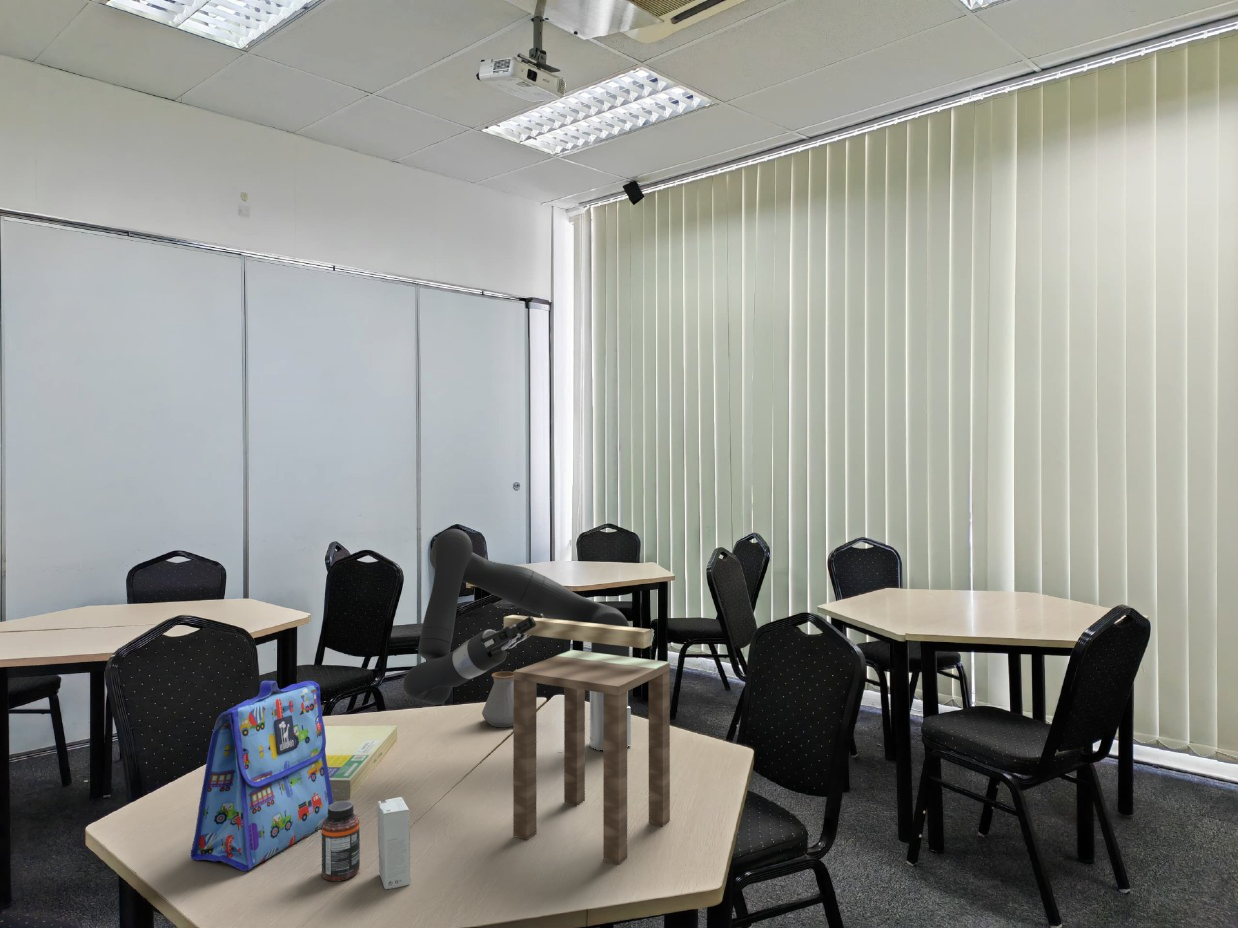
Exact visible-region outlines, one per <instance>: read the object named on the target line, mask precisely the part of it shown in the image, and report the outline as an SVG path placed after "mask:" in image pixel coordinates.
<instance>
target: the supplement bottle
mask: <svg viewBox="0 0 1238 928" xmlns="http://www.w3.org/2000/svg"><path fill="white" fill-rule="evenodd" d="M354 811H355V809H354V803H353V802H352V801H350V800H339V801H335V802H334V801H333V803H332V804H330V805H329V806H328V817H327V818H326V819H325V820H324V821H323V823H322V827H321V875H322V878H324V879H325V880H327V881H331V882H342V881H346V880H348V879H350V878H352V877H354V876H356V875H357V874H358V873H359V870H360V864H361V863H360V862H361V861H360V850H361V849H360V848H361V847H360V846H361V845H360V843H361V842H360V841H361V840H360V836H361V835H360V831H361V830H360V818H359V816H358V815H357V814H356V813H354Z"/></svg>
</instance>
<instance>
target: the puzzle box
mask: <svg viewBox="0 0 1238 928" xmlns="http://www.w3.org/2000/svg"><path fill="white" fill-rule="evenodd" d="M324 728H325V736H326V747H325V752H326V760H327V765H328V772H329V777H330V784H331V790H332V796H333V800H347V799H349V800H350V799H352V798H353V797H354V795H355V794H356V793H357V791H358V790H359V789H360V788H361V787H362V785H363V784H364V783H365V782H366V780H368V779H369V777H370V776H371V774H373V772H374V770H375V769H376V768H377V767H378V765H379V764H380V763H381V762H382V760H383V759H384V758H385V757H386V756H387V755H388V753H389V752H390V751H391V749H392V748H393V747H394V746H395V745H396V743H397V742H398V725H396V724H395V725H393V724H392V725H324ZM389 750H390V751H389Z"/></svg>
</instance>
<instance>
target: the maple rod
mask: <svg viewBox="0 0 1238 928" xmlns="http://www.w3.org/2000/svg"><path fill="white" fill-rule="evenodd" d="M528 617H529V615H527V616H525V615H516V614H511V615H508V616H507V615H506V616H503V628H505V627H508V626H509V627H511V626H512V625H513V624H518V623H519V622H521V621H523V620H524V619H526V618H528ZM532 617H533V618H534V621H535V623H536V626H535V627H533V628H532V629H530V630H528V631H527V632H525V633H523V634H525V635H531V636H537V637H543V638H544V637H545V638H551V639H560V640H570V641H577V642H578V641H579V642H587V643H591V642H593V643H602V644H610V645H619V646H627V647H629V648H637V649H638V648H639V649H646V648H648V647H651V646H652V629H650V628H642V627H631V626H629V627H624V626H614V625H605V624H595V623H585V622H576V621H566V620H557V619H552V618H548V617H544V618H537V617H535V616H532Z"/></svg>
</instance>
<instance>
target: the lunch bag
mask: <svg viewBox="0 0 1238 928" xmlns="http://www.w3.org/2000/svg"><path fill="white" fill-rule="evenodd" d="M322 713H323V712H322V705H321V687H320V685H319V683H317V682H315V681H314V680H305V681H302V682H299V683H293V684H290V685H288V686H286V687H283V688H281V689H280V688H279V687H278V683H277V681H276V680H263V681H261V682H260V684H259V692H258V695H257V696H255V697H253V698H250V699H246V700H244V701H242V702H241V703H238V704H236V705H235V706H233V707H230V708H229V709H227V710H226V711H223V712H222V713H220V715H218V717H217V719H216V720H215V723H214V727H213V731H212V734H211V739H210V743H209V747H208V753H207V758H206V763H205V768H204V769H205V770H204V776H203V783H202V788H201V793H200V797H199V805H198V811H197V818H196V819H197V820H196V826H195V830H194V831H195V832H194V837H193V841H192V845H191V848H190V849H191V850H190V859H192V860H193V861H205V860H206V861H209V862H210V861H211V862H218V861H221V862H223V863H225V864H228V865H230V866H232V867H234V868H236V869H238V870H240V871H242V870H243V871H242V872H247V871H250V870H252V869H253V868H254V867H256V866H257V865H259V864H261V863H262V862H264V861H266V860H268V859H269V858H271V857H274V855H276V854H278V853H280V852H282V851H283V850H285V849H287V848H288V847H290V846H292V845H294V844H295V843H297V842H298V841H300V840H302V839H303V838H305V837H307V836H309V835H310V834H312V833H314V832H316V831H318V830H320V829H322V823H323V821H324V820H325V819H326V818H327V817H328V806H329V805H330V804H332V803H334V799H333V796H332V790H331V784H330V777H329V772H328V765H327V760H326V752H325V747H326V736H325V728H324V726H325V724H324V720H323V714H322Z"/></svg>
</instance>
